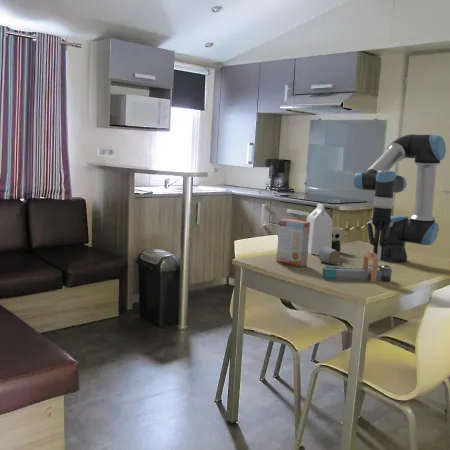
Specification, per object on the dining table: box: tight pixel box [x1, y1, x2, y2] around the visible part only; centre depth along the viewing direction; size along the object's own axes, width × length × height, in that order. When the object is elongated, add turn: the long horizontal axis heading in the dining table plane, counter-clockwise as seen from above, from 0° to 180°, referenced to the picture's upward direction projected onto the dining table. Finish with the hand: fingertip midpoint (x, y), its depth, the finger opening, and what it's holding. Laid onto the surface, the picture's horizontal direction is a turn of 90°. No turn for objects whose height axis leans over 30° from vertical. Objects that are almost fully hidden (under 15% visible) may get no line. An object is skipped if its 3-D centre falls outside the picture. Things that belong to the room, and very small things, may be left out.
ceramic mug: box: [317, 246, 342, 265], centre depth 253 cm, size 11×8×8 cm
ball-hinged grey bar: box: [322, 267, 393, 283], centre depth 222 cm, size 30×5×5 cm, turn 98°
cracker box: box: [276, 218, 310, 268], centre depth 245 cm, size 14×6×21 cm, turn 47°
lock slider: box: [362, 250, 379, 283], centre depth 223 cm, size 2×10×12 cm, turn 8°
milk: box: [305, 203, 333, 256], centre depth 277 cm, size 12×12×26 cm
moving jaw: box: [325, 263, 392, 270], centre depth 224 cm, size 27×7×6 cm, turn 94°
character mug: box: [331, 226, 347, 253], centre depth 283 cm, size 11×7×13 cm, turn 62°
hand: (377, 261), depth 224 cm, fingers closed
